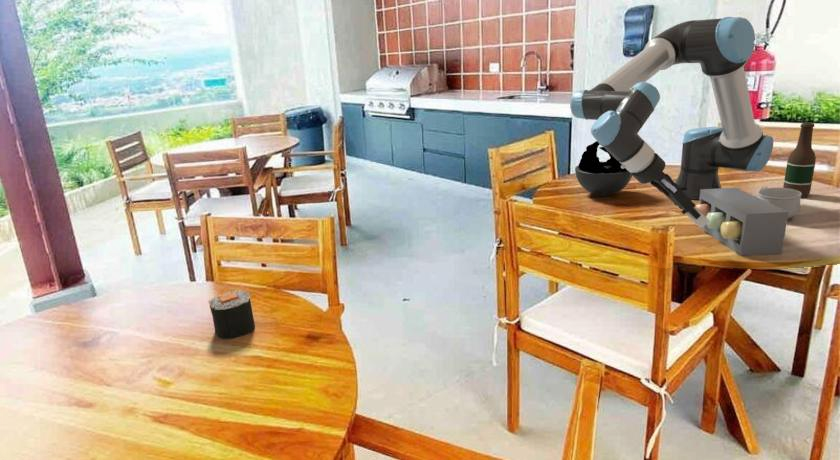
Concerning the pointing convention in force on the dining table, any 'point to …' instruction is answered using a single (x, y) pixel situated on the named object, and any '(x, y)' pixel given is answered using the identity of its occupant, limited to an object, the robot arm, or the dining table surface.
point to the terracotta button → (704, 208)
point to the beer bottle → (801, 163)
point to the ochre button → (731, 229)
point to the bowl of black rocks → (601, 173)
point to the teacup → (782, 198)
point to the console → (747, 221)
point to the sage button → (715, 220)
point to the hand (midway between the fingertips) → (704, 223)
